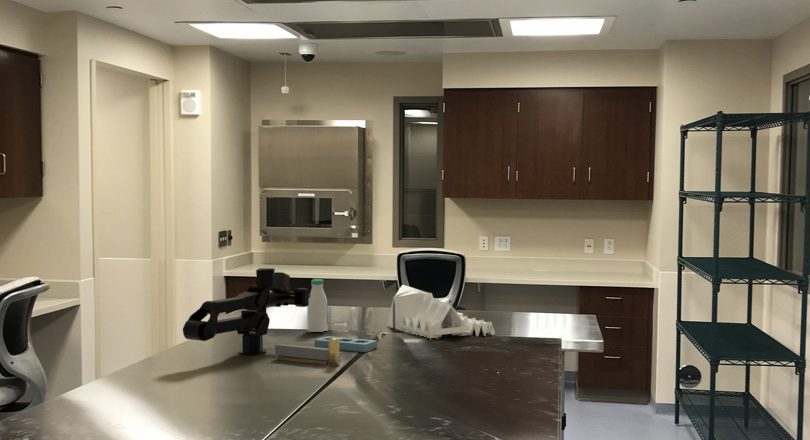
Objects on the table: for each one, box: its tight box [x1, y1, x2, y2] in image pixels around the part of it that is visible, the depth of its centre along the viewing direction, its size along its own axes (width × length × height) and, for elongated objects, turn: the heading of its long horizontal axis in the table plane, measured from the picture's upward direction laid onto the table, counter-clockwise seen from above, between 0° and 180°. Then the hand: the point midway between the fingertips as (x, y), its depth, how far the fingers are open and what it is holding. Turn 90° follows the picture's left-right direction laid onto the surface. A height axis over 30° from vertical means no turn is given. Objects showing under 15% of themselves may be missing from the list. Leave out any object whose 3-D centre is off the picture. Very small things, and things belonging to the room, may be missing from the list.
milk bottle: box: [306, 278, 329, 333], centre depth 278 cm, size 8×8×20 cm
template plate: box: [276, 355, 341, 366], centre depth 226 cm, size 8×18×1 cm, turn 63°
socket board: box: [314, 335, 378, 353], centre depth 245 cm, size 8×20×2 cm, turn 63°
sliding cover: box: [274, 343, 343, 360], centre depth 226 cm, size 9×19×3 cm, turn 63°
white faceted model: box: [385, 284, 496, 340], centre depth 281 cm, size 41×27×17 cm, turn 30°
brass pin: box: [328, 338, 340, 368], centre depth 217 cm, size 3×3×8 cm
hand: (299, 294), depth 258 cm, fingers open, 9 cm apart
